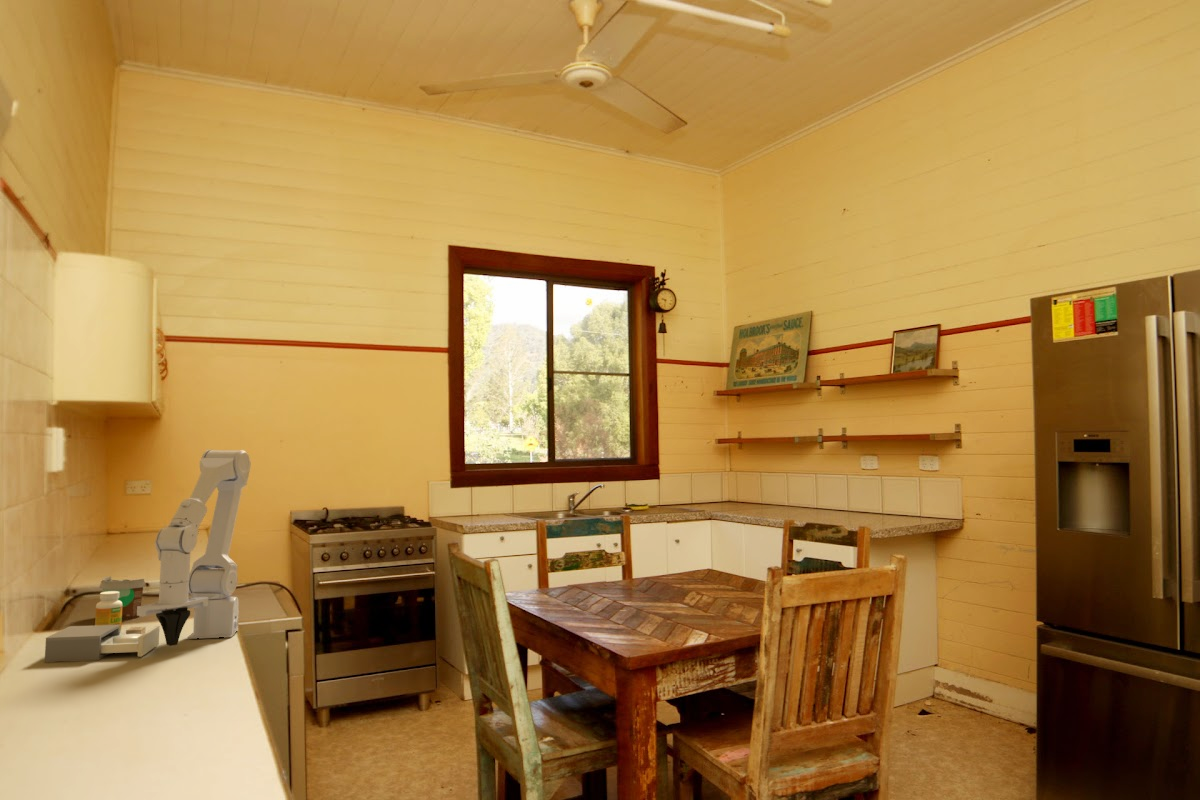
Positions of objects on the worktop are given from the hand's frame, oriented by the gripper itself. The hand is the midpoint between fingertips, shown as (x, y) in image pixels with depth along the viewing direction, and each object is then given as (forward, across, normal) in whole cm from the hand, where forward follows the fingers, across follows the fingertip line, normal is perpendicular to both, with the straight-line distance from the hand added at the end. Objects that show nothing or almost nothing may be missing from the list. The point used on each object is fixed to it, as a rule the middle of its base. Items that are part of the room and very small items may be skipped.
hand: (171, 644), depth 173 cm
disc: (0, +6, -6) cm, 9 cm away
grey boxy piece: (+1, +12, -12) cm, 17 cm away
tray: (+1, +7, -6) cm, 9 cm away
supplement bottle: (+2, 0, -28) cm, 29 cm away
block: (+1, +2, -13) cm, 13 cm away
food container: (+2, -10, -46) cm, 47 cm away
